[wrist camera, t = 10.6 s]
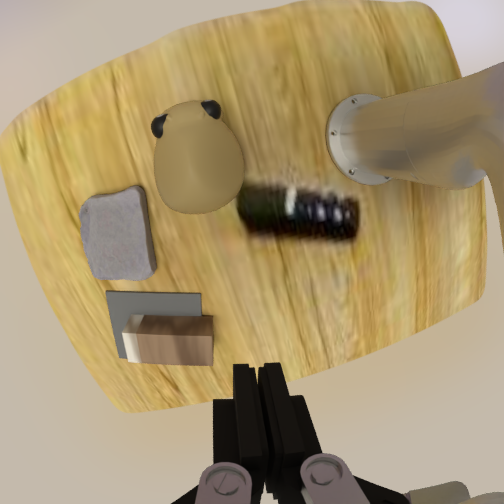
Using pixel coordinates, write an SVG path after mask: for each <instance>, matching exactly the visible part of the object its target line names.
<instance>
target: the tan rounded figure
mask: <svg viewBox="0 0 504 504" xmlns="http://www.w3.org/2000/svg"><path fill="white" fill-rule="evenodd" d="M222 117H223V112H222V110H221V107H220V105H219V104H218V103H217V102H216V101H214V100H205V101H190V102H185V103H181V104H177V105H175V106H173V107H171V108H169V109H167V110H166V111H164V112H163V113H162V114H161V115H158V116H157V117H155V118H154V120H153V121H152V123H151V130H152V133H153V134H154V136H155V137H157V142H156V147H155V152H154V174H155V180H156V185H157V188H158V191H159V194H160V196H161V198H162V200H163V202H164V203H165V204H166V205H167V206H168V207H169V208H171V209H173V210H175V211H178V212H181V213H185V214H204V213H209V212H212V211H215V210H217V209H220V208H221V207H223V206H225V205H226V204H228V203H229V202H230V201H231V200H232V199H233V198H234V197H235V196H236V195H237V194H238V192H239V191H240V189H241V186H242V183H243V179H244V160H243V155H242V151H241V148H240V145H239V143H238V141H237V139H236V137H235V136H234V134H233V133H232V132H231V130H230V129H229V128H228V127H227V126H226V125H225V123H224V122H222Z"/></svg>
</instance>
